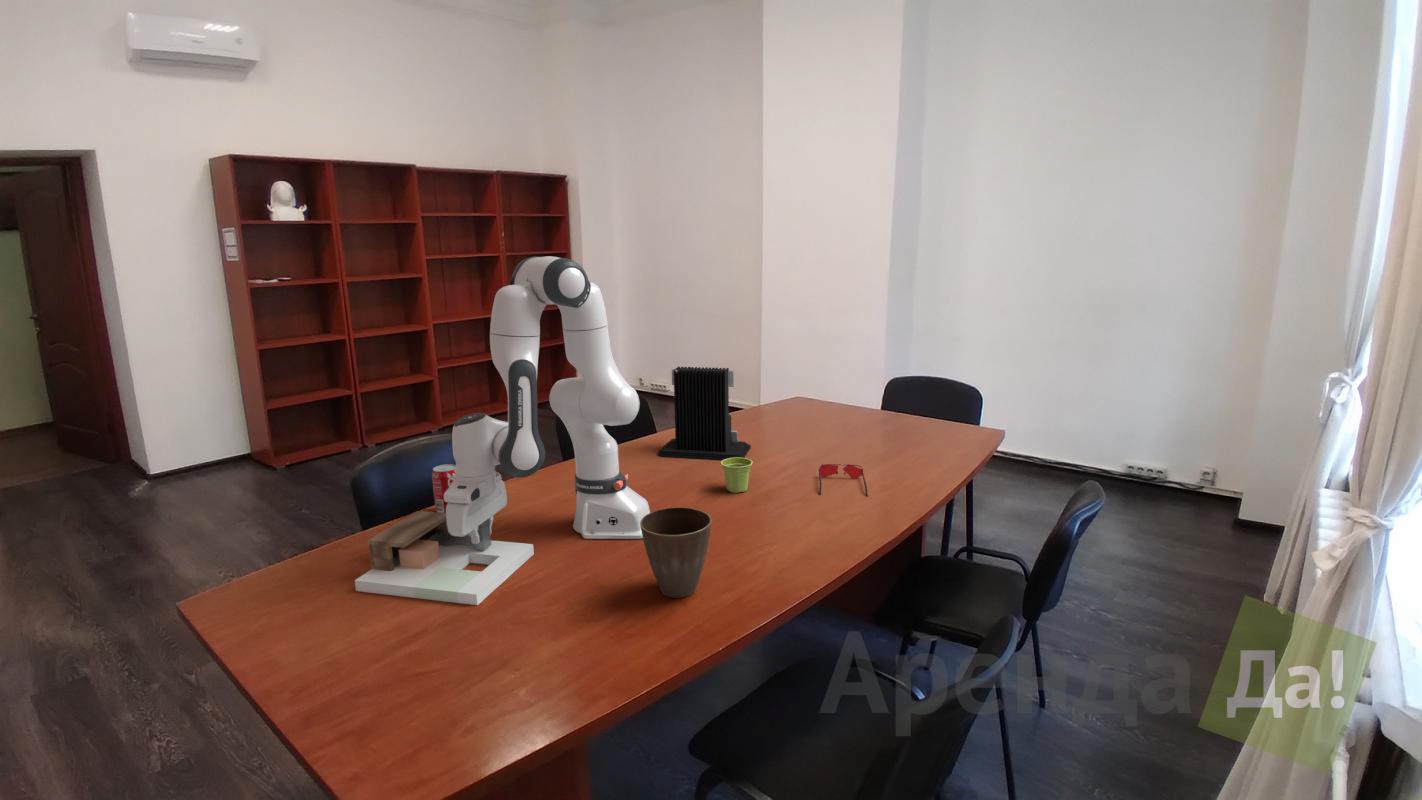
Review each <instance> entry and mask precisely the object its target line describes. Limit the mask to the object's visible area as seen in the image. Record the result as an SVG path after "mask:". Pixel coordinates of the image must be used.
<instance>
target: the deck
mask: <svg viewBox="0 0 1422 800" xmlns="http://www.w3.org/2000/svg"><path fill="white" fill-rule="evenodd" d="M438 546H439V555H440V558H438V559H437V560H435V561H434V562H433V563H431V564H430V565H429V566H427V567H426V568H424V569H420V568H410V567H401V566H400V558H399V555H397V556H396V557H394V558H393V563H394V570H392V571H385V570H376V569H372V568H371V569H369V570H368V571H367V572H366V573H364V574H362V575H360V576H359V577H358V578H356V579H355V580H354V584H355V586H354V587H355V591H356V592H363V593H369V594H378V595H386V596H387V595H388V596H394V597H395V596H396V597H404V598H413V599H422V600H431V601H437V602H438V601H439V602H444V603H445V602H447V603H455V604H464V605H471V606H472V605H473V606H478V605H480V603H482V602H484V600H485V599H486V598H487V597H488V596H490V595H491V594H492V593H493V592H494V591H495V590H496V589H497V588H498V587H499V586H500V585H501V584H503V583H504V582H505V581H506V580H507V579H508V578H510V576H511V575H512V574H514V573H515V572H516V571H517V570H519V568H521V566H522V565H523V564H525V562H527V561H528V560H529V559H530V558H531V557H532V556H534V554H535V553H534V552H535V550H534V544H533V543H522V542H513V541H502V540H501V541H500V540H492V539H491V545H490V546H489V547H488V548H486V549H485V550H480V549H473V546H460V545H446V544H438ZM470 564H478V565H485V566H486V565H487V567H485V568H484V569H483V570H481V571H477V570H468V569H465V568H466V567H467V566H469V565H470Z"/></svg>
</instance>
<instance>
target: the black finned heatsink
mask: <svg viewBox="0 0 1422 800" xmlns="http://www.w3.org/2000/svg"><path fill="white" fill-rule="evenodd" d="M734 374H735V373H734V370H730V369H729V367H727V368H725V367H723V368H722V367H720V368H719V367H703V366H702V367H701V366H700V367H697V366H695V367H694V366H688V367H687V366H681V367H680V366H677V367H676V368H671V386H673V394H674V395H673V397H674V398H673V399H674V434H675V438H671V439H670V440H669V441H668V442H667V443H666V444H665V445H664V446H663V447H661V449H659V450H658V451H657V456H658V457H662V458H674V459H675V458H676V459H677V458H678V459H695V460H710V461H711V460H712V461H713V460H714V461H722V460H724V459H728V458H735V457H738V458H739V457H740V458H746V456H747V455H748V453H749V451H750V450H751V448H752V446H751V444H748V443H747V442H746V441H741V440H740V441H739V437H738V430H732V416H731V414H730V413H729V403H730V400H729V398H730V396H729V388H734V387H735V384H734V383H735V382H734V381H735V379H734V377H735V375H734Z"/></svg>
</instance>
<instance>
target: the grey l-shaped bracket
mask: <svg viewBox="0 0 1422 800" xmlns="http://www.w3.org/2000/svg"><path fill="white" fill-rule="evenodd" d="M477 532H478V534H481V539H482V540H481V541H480V542H479V543H478V544H473V543H472V542H471V536H470V535H469V533H468V534H467V535H465V536H463V537H460V536H452V535H451V534H450V533H449V532H448V531H433V532H432V533H430V534H429V535H427V536H426V537H424V538H423V539H421V540H430V541H438V544H446V545H460V546H473V549H480V550H485V549H486V548H488V547H489V546H490V545H491V540H492V537H491V534H490V528H489V519H487V520H486V521H485V522H483V523H482V524H480V525H479V526H478V530H477Z"/></svg>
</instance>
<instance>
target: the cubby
mask: <svg viewBox="0 0 1422 800" xmlns="http://www.w3.org/2000/svg"><path fill="white" fill-rule="evenodd" d="M433 531H448V527H447V520H446V513H437V512H434V511H425V510H416V511H415V512H413V513H411V514H410V515H408V516H406V517H404V518H402V519H401V520H399V521H398V522H396V523H394V524H392V525H391V526H389V527H388V528H386V529H384V530H383V531H381V532H379V533H377V534H376V535H374V536H372V537H370V538H369V539H368V540H367V541H368V542H367V543H368V548H369V557H370V565H371V569H376V570H385V571H392V570H394V563H393V558H394V557H396V556H397V555H399V549H401V548H404V547H406V546H407V545H409V544H410V543H412V542H414V541H415V540H417V539H419V540H421V539H423V538H424V537H426V536H427V535H429V534H430V533H432V532H433Z"/></svg>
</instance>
